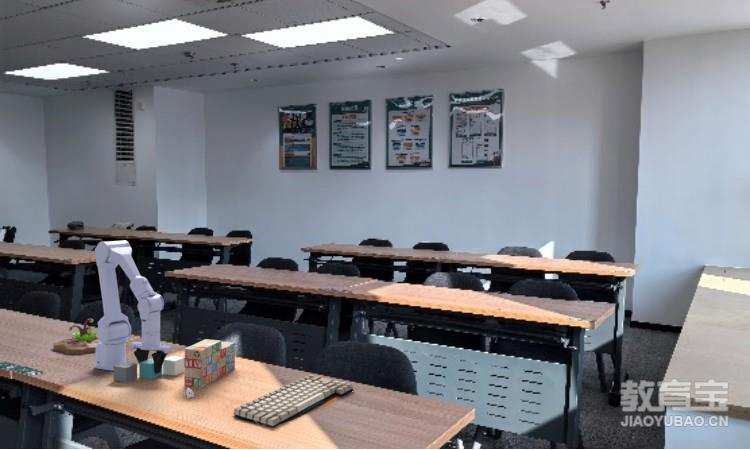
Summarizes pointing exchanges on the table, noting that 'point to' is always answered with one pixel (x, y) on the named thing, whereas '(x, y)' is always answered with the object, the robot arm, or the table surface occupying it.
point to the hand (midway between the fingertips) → (150, 371)
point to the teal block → (148, 369)
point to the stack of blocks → (208, 361)
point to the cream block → (173, 365)
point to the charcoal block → (125, 372)
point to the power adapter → (189, 393)
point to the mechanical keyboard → (292, 401)
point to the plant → (79, 341)
